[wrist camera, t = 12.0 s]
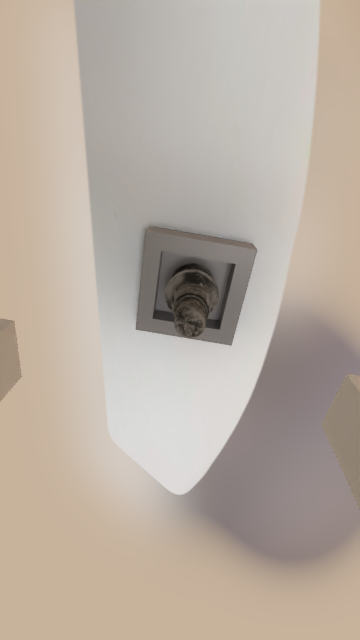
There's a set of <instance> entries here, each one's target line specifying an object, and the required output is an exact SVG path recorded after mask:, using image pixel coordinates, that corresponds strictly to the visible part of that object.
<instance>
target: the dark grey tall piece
mask: <svg viewBox="0 0 360 640" xmlns="http://www.w3.org/2000/svg"><path fill="white" fill-rule="evenodd" d="M165 300H166V303H167V306H168V308H169V309H170V310H171V311H172V313H173V315H174V326H175V329H176V331H177V332H178V333H179V334H180V335H181V336H183V337H186V338H195V337H198V336H199V335H201V333H202V332H203V331H204V329H205V325H206V320H207V318H208V316H209V314H211V313H212V312H213V310H214V309H215V308H216V306H217V304H218V300H219V289H218V287H217V284H216V282H215V280H214V277H213V275H212V273H211V272H210V271H209V270H208V269H207V268H206V267H205V266H202V265H200V264H195V263H190V264H185V265H183V266H181V267H179V268H178V269H177V270H176V271H175V272H174V274H173V276H172V278H171V279H170V281H169V282H168V284H167V286H166V289H165Z"/></svg>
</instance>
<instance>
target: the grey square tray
mask: <svg viewBox="0 0 360 640" xmlns="http://www.w3.org/2000/svg"><path fill="white" fill-rule="evenodd" d="M256 253H257V249H256V248H255V246H254V245H253V244H250V243H245V242H239V241H233V240H227V239H221V238H216V237H210V236H204V235H198V234H192V233H187V232H181V231H175V230H169V229H163V228H158V227H152V226H150V227H149V228H148V229H147V230H146V235H145V245H144V254H143V264H142V274H141V283H140V293H139V303H138V312H137V322H136V330H142V331H148V332H154V333H160V334H166V335H172V336H178V337H183V336H181V335H180V334H179V333H178V332H177V331H176V329H175V326H174V315H173V313H172V311H171V310H170V309H169V308H168V306H167V303H166V300H165V289H166V286H167V284H168V282H169V281H170V279H171V278H172V276H173V274H174V272H175V271H176V270H177V269H178V268H179V267H181V266H183V265H185V264H190V263H195V264H200V265H202V266H205V267H206V268H207V269H208V270H209V271H210V272H211V273H212V275H213V277H214V280H215V282H216V284H217V287H218V289H219V300H218V304H217V306H216V308H215V309H214V310H213V312H212V313H211V314H209V316H208V318H207V320H206V325H205V329H204V331H203V332H202V333H201V335H199V336H198V337H195V338H190V339H196V340H202V341H208V342H214V343H220V344H226V345H232V341H233V338H234V334H235V330H236V326H237V323H238V319H239V315H240V312H241V308H242V304H243V301H244V297H245V293H246V290H247V286H248V282H249V279H250V275H251V271H252V267H253V264H254V260H255V256H256ZM184 338H186V337H184Z"/></svg>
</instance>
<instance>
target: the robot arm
mask: <svg viewBox="0 0 360 640" xmlns="http://www.w3.org/2000/svg"><path fill="white" fill-rule="evenodd" d="M15 331H16V330H15V323H14V321H12V320H6V319H0V401H1V400H2V399H3V398H4V397H5V395H6V394H7V393H8V392H9V391H10V390H11V388H12V387H13V386H14V385H15V383H17V381H18V380H19V379H20V378H21V369H20V361H19V353H18V346H17V338H16V332H15ZM322 426H323V429H324V431H325V433H326V435H327V438H328V440H329V442H330V444H331V446H332V449H333V451H334V453H335V455H336V457H337V460H338V462H339V464H340V466H341V469H342V471H343V473H344V475H345V477H346V480H347V482H348V484H349V486H350V488H351V491H352V493H353V495H354V497H355V500H356V502H357V504H358V506H359V508H360V376H357V375H350V374H347V375H346V377H345V379H344V381H343V383H342V385H341V387H340V389H339V391H338V393H337V395H336V397H335V399H334V401H333V402H332V404H331V406H330V408H329V410H328V412H327V414H326V416H325V418H324V420H323V422H322Z"/></svg>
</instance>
